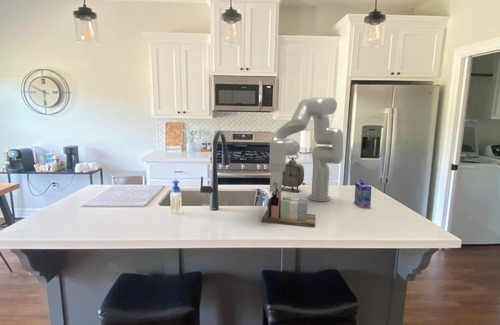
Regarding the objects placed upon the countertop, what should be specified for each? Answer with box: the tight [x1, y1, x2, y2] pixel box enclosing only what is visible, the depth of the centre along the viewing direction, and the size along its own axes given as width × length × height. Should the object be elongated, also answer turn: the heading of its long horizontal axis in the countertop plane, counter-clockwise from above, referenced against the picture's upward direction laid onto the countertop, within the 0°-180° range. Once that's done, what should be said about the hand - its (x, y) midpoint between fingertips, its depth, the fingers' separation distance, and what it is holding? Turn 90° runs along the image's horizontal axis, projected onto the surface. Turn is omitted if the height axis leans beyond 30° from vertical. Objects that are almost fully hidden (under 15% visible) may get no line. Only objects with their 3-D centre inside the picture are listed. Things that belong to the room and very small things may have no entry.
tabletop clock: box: [281, 153, 305, 193], centre depth 193 cm, size 14×9×25 cm, turn 62°
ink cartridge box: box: [353, 179, 372, 209], centre depth 163 cm, size 10×6×14 cm, turn 3°
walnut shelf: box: [261, 196, 316, 228], centre depth 139 cm, size 13×24×10 cm, turn 77°
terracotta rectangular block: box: [271, 190, 282, 218], centre depth 141 cm, size 7×4×12 cm, turn 167°
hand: (276, 202), depth 140 cm, fingers open, 9 cm apart
